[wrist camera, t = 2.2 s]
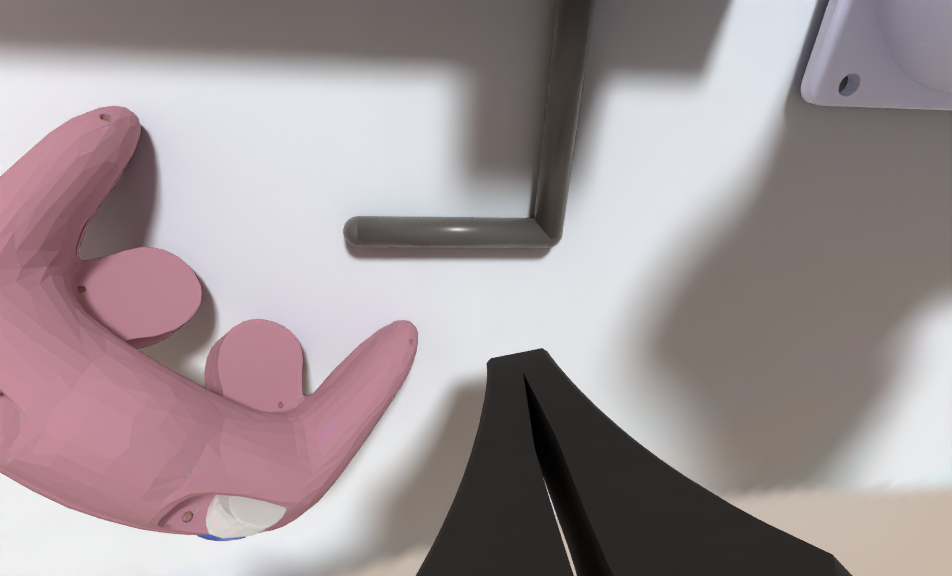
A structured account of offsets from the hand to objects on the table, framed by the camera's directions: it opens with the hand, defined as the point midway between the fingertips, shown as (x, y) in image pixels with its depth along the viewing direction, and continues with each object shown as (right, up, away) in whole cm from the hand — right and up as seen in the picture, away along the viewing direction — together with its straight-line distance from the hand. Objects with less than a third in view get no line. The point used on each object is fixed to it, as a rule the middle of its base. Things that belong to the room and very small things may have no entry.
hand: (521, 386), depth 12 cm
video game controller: (-8, +2, +3) cm, 9 cm away
